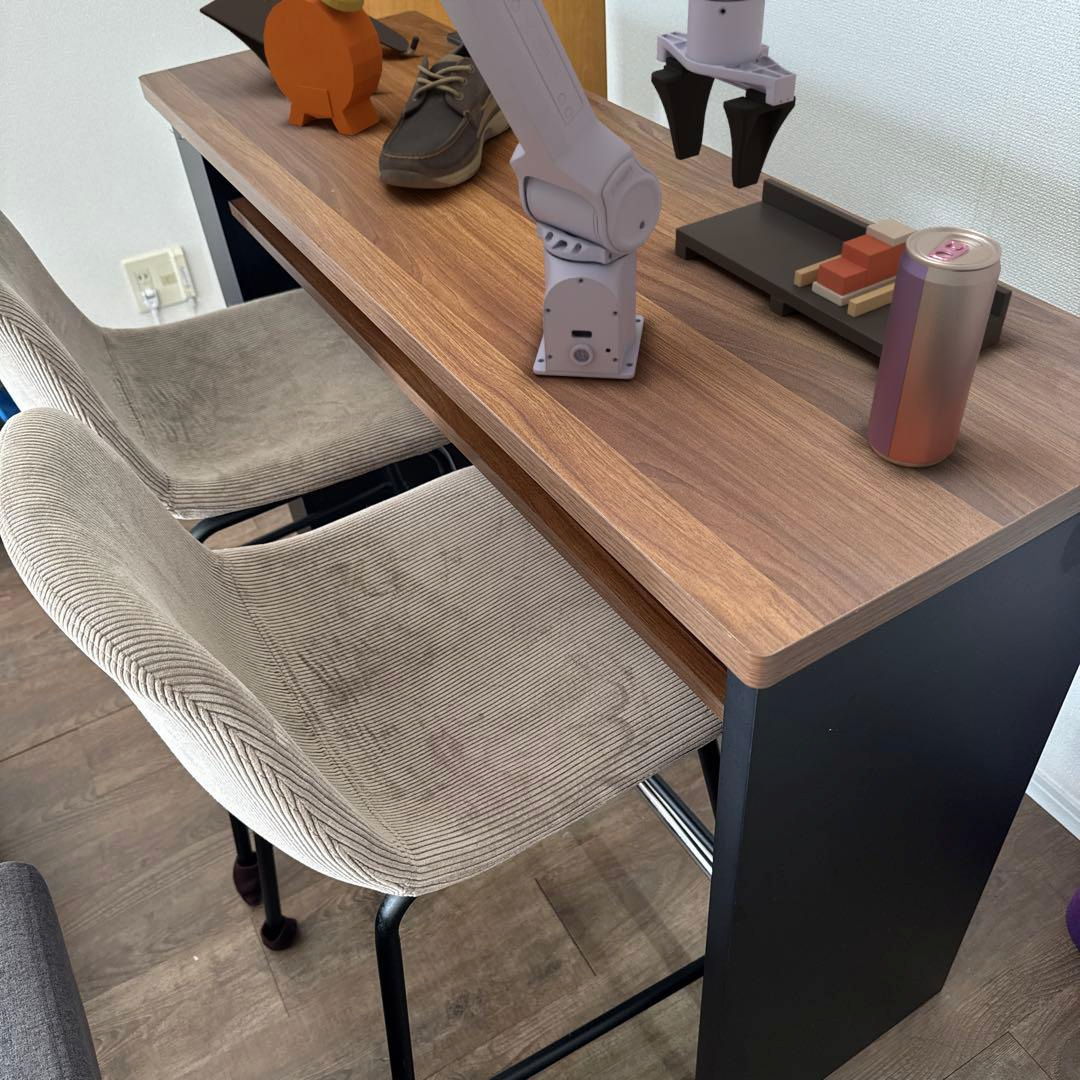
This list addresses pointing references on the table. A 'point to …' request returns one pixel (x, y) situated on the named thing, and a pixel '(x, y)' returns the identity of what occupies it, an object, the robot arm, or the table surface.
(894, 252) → the stepped block
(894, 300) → the beverage can
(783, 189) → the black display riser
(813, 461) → the table surface
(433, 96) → the boat shoe
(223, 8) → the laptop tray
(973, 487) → the table surface
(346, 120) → the alarm clock
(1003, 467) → the table surface
